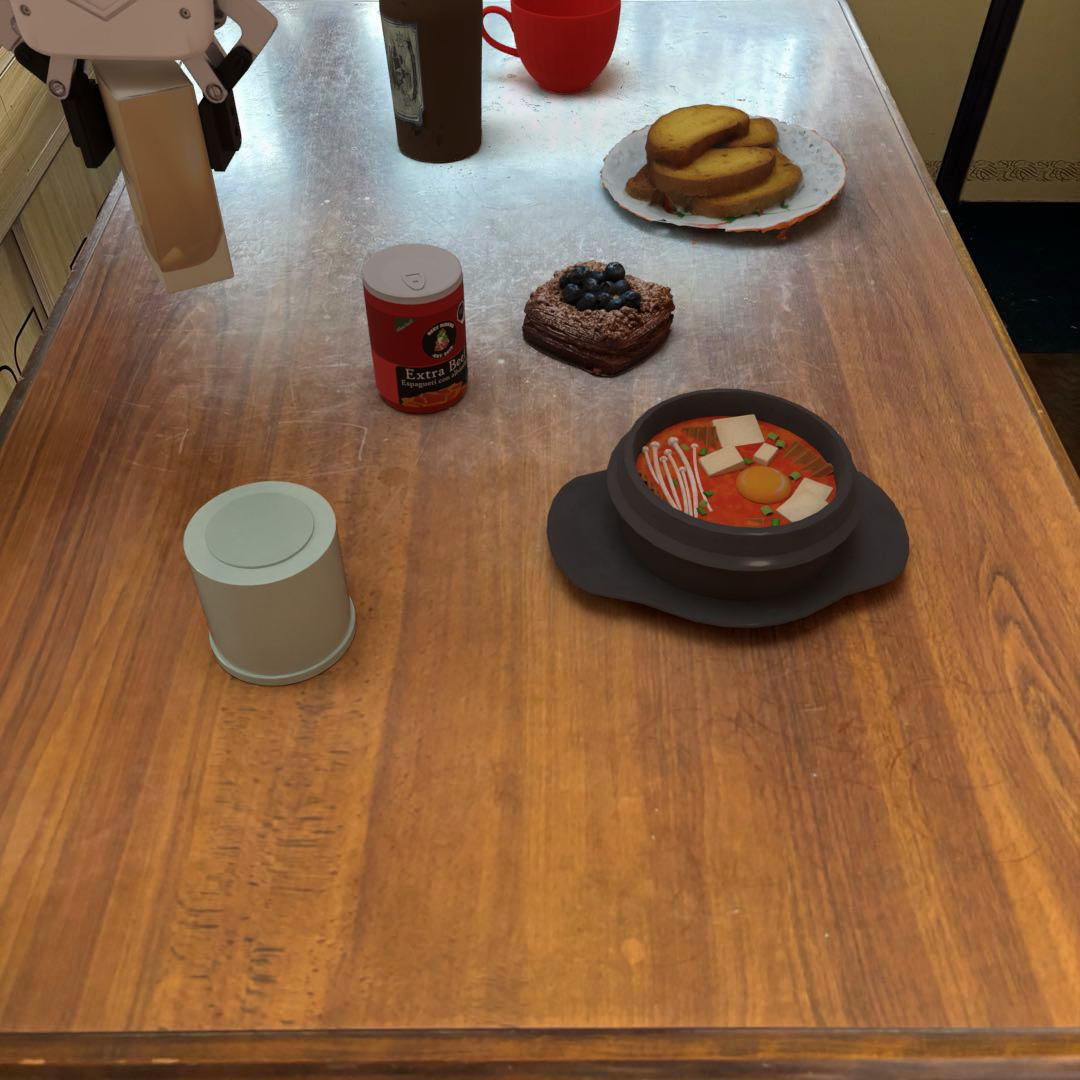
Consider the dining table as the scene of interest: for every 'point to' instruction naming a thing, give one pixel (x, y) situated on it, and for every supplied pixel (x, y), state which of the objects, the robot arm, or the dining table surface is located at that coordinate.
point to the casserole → (728, 514)
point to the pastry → (598, 318)
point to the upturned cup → (271, 582)
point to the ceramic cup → (561, 40)
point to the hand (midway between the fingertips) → (162, 157)
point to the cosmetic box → (166, 170)
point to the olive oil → (435, 75)
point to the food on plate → (723, 170)
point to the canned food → (417, 326)
